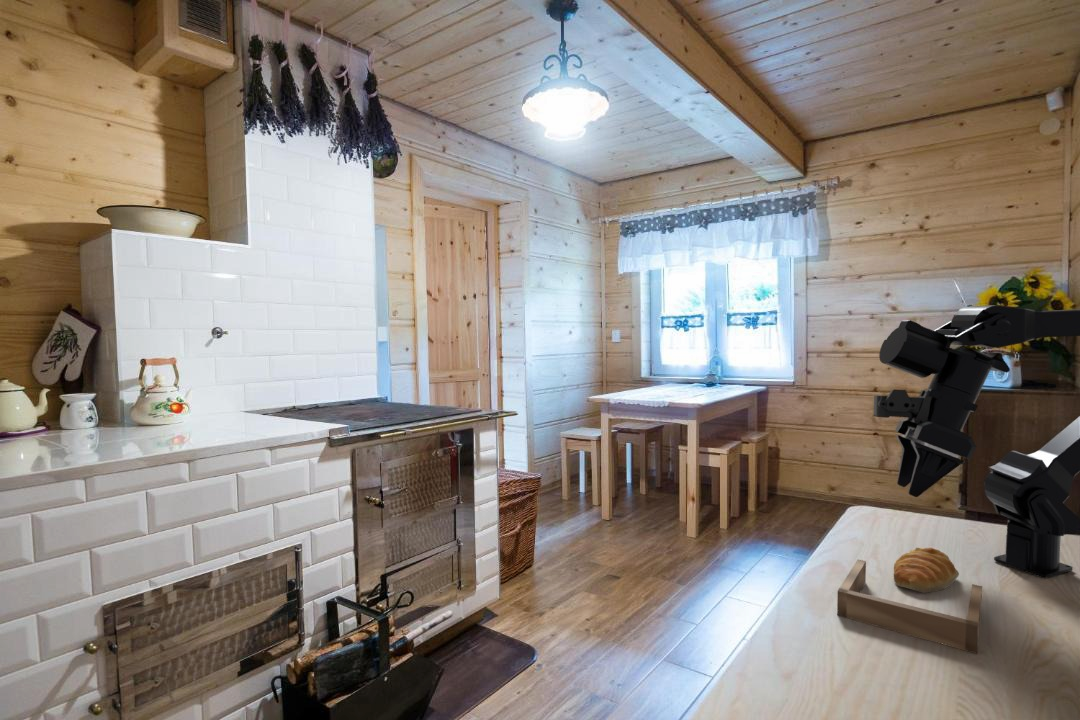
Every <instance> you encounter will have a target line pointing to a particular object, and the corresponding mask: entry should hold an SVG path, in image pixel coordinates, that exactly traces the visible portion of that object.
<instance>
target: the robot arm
mask: <svg viewBox="0 0 1080 720" xmlns="http://www.w3.org/2000/svg"><path fill="white" fill-rule="evenodd" d="M1059 337H1060V338H1061V337H1064V338H1065V337H1080V309H1079V308H1078V309H1063V310H1062V309H1059V310H1058V309H1056V310H1055V309H1054V310H1036V309H1030V308H1025V307H1018V306H1011V305H1010V306H1009V305H1003V304H1001V305H997V304H996V305H994V304H993V305H969V306H965V307H964V306H963V307H961V308H959V309H958V311H956V313H955V314H954V315H953V317H952V319H951V320H950V321H947V322H946V323H945V324H943V325H941V326H939V327H938V328H936V329H934V330H933V329H930V328H928V327H925V326H923V325H921V324H920V323H918V322H917V321H916V322H915V321H913V320H911V319H902V320H901V321H900V323H899V325H898V327H897V328H895V329H894V330H892V332H891V333H890V334H889V335H888V336H887V338H886V339H884V340H883V342H882V344H881V347H880V349H879V354H878V355H879V361H880V363H882V364H883V365H887V366H889V367H892V368H894V369H898V370H899V371H902V372H905V373H907V374H910V375H913V376H916V377H917V378H921V379H925V378H927V377H929V376H931V375H933V377H932V378H931V380H930V383H929V385H928V386H927V387H928V388H925V389H921V390H920V392H919V394H918V396H917V397H916V396H909V394H908V392H907V391H906V389H894V388H893V389H891V390H890V391H889V393H888V394H887V395H880V394H879V395H875V394H874V395H873V417H876V418H887V419H888V418H890V417H891V418H892V417H894V418H904V419H901V420H898V422H897V423H898V424H897V425H896V427H895V429H894V432H896V433H898V434H895V438H896V439H897V441H898V443H899V444H900V447H901V449H902V451H901V456H900V462H899V463H900V464H899V469H898V476H897V480H896V485H898V486H900V487H901V488H906V487H907V486H908V485H909V488H908V495H910V496H911V497H915V498H918V497H919V496H921V495H922V494H924V493H925V492H926V491H927V490H929V489H930V488H931V487H933V486H934V485H935V484H937V482H939V481H940V480H941V479H943V478H944V477H946V476H947V475H948V474H950V473H952V471H954V470H955V469H956V468H958V467H959V466H961V465H963V464H965V462H966V460H963V459H960V458H959V457H962V458H964V459H967V460H971V459H972V457H973V455H974V453H975V451H976V448H977V445H976V443H975V441H974V439H973V437H972V436H970V435H968V434H966V433H965V432H964V431H962V430H963V428H964V426H965V424H966V423H967V421H968V419H969V416H970V414H971V412H972V413H976V411H977V409H978V407H979V404H975V403H976V401H977V399H978V397H979V395H980V394H981V391H982V389H983V387H984V384H985V382H986V380H987V378H988V377H989V373H990V372H991V371H992V372H998V373H999V372H1000V373H1009V372H1010V370H1011V369H1010V367H1009V365H1008V363H1007V362H1006V361H1005V359H1004V358H1003V353H1002V352H996V351H995V352H993V351H990V352H988V353H983V352H981V351H979V350H977V349H976V350H975V349H974V348H970V347H983V348H995V349H996V348H1004V347H1009V346H1014V345H1020V344H1024V343H1026V342H1030V341H1033V340H1036V339H1042V338H1059ZM953 345H954V346H965V347H966V346H968V348H967V347H966V348H962V349H959V350H958V349H954V348H952V347H951V346H953ZM988 470H990V471H989V473H988V474H987V475H986V477H985V478H984V481H983V484H984V494H985V496H986V497H987V499H988V501H990V502H991V503H992V505H993V507H994V510H995V512H996V514H998V515H1002V516H1004V517H1006V518H1007V523H1006V535H1005V553H1004V554H1001V555H997V556H994V558H993V561H995V562H996V563H1001V564H1003V565H1005V566H1009V567H1012V568H1013V569H1018V570H1020V571H1023V572H1026V573H1029V574H1031V575H1034V576H1038V577H1040V578H1045V579H1047V578H1051V577H1054V576H1057V575H1061V574H1064V573H1069V572H1072V571H1073V568H1074V567H1073V566H1071V565H1068V564H1066V563H1063V562H1061V539H1062V538H1061V537H1064V536H1066V535H1076V534H1077V531H1078V529H1079V526H1080V517H1079V516H1078V515H1076V514H1075V513H1074V512H1073V511H1072V510H1071V509H1070V508H1069V507H1068V506H1067V505H1066V504H1065V501H1066V500H1067V499H1068V498H1069V497H1070V495H1071V494H1070V493H1071V491H1072V485H1073V481H1074V478H1075V477H1076V475H1078V474H1079V473H1080V415H1079V416H1078V417H1077V418H1076V419H1075V420H1073V421H1072V422H1071V423H1070V424H1068V425H1067V426H1065V428H1064V429H1063V430H1062V431H1060V432H1059V433H1057V434H1056V435H1055V436H1054V437H1053V438H1051V440H1049V441H1048V442H1046V444H1045V445H1043V446H1042V447H1041V448H1040V449H1039V450H1037V451H1035V452H1032V453H1029V454H1026V453H1021V452H1019V451H1016V450H1011V451H1009V452H1007V453H1006V454H1005V455H1004V457H1003V458H1002V459H1001V460H1000V461H999V462H997V463H995V465H992V466H988Z"/></svg>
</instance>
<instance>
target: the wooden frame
mask: <svg viewBox="0 0 1080 720" xmlns="http://www.w3.org/2000/svg"><path fill="white" fill-rule="evenodd" d="M866 571H867V561H866V560H863V559H856V561H855V563H854V564H853V566H852V568H851V569H850V570H849V572H848V574H847V575H846V577H845V578H844V580H843V582H842V583H841V585H840V586H839V588H838V590H837V599H836V602H837V603H836V604H837V608H836V609H837V612H836V613H837V616H840V617H843V618H847V619H850V620H853V621H859V622H861V623H865V624H868V625H873V626H876V627H879V628H882V627H883V629H886V628H887V630H890V631H893V630H894V632H897V631H898V633H901V634H904V635H908V636H912V637H915V638H919V639H923V640H926V641H929V640H930V642H933V641H934V643H937V642H938V643H937V644H940V643H943V644H942V645H944V644H946V645H945V646H947V645H949V646H948V647H951V646H952V648H955V649H959V650H962V651H966V652H969V653H973V654H978V645H979V636H980V627H981V620H982V611H983V609H982V608H983V607H982V606H983V586H982V585H979V584H978V585H977V584H974V583H973V584H971V590H970V596H969V602H968V607H967V615H966V618H961V617H958V616H955V615H954V616H953V615H951V614H945V613H941V612H938V611H933V610H929V609H926V608H922V607H917V606H914V605H909V604H906V603H903V602H902V603H901V602H898V601H894V600H890V599H885V598H881V597H878V596H874V595H869V594H865V593H862V590H863V588H864V586H865V585H866V580H867V578H866V577H867V573H866Z"/></svg>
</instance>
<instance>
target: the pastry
mask: <svg viewBox="0 0 1080 720" xmlns="http://www.w3.org/2000/svg"><path fill="white" fill-rule="evenodd" d="M959 575H960V572H959V571H958V570H957V568H956V567H955V565H954V563H953V562H952V561H951V559H950V558H949V556H948V555H947V553H944V552H942V551H941V550H939V549H937V548H933V547H923V548H921V547H916V548H915V549H912V550H911V549H910V551H909V552H905V553H904V554H902V555H901V556H900V557H899V558H898V559H896V561H895V562H894V566H893V582H894V583H895V585H896V586H897V587H903V588H905V589H906V588H907V589H910V590H913V591H916V592H920V593H923V594H927V593H930V592H937V591H943V590H945V589H946V588H947V587H949V586H952V584H953V583H955V581H956V580H957V578H958V577H959Z"/></svg>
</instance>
